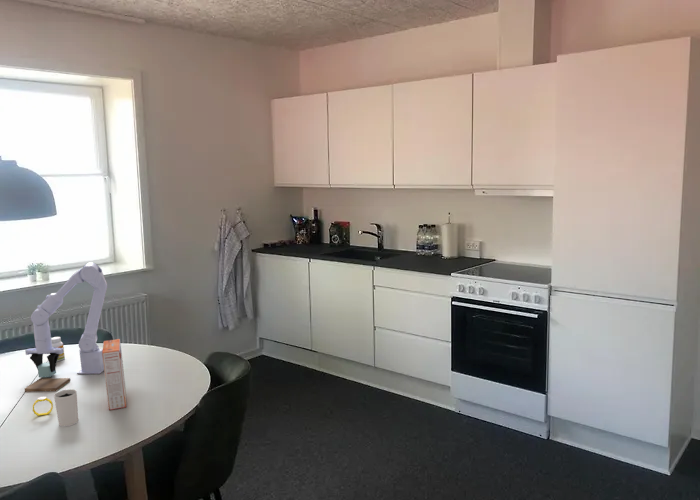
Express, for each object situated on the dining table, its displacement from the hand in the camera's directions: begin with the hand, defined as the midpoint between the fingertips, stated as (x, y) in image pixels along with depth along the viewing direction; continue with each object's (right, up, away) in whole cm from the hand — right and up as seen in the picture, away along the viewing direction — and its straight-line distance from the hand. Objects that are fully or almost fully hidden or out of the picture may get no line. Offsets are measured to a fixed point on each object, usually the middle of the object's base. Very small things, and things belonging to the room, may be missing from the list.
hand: (47, 371), depth 232 cm
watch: (+17, -8, -35) cm, 40 cm away
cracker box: (+39, -5, -27) cm, 47 cm away
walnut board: (+6, -4, -10) cm, 12 cm away
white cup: (+29, -8, -42) cm, 51 cm away
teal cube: (0, -2, 0) cm, 2 cm away
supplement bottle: (-6, +1, +20) cm, 21 cm away
